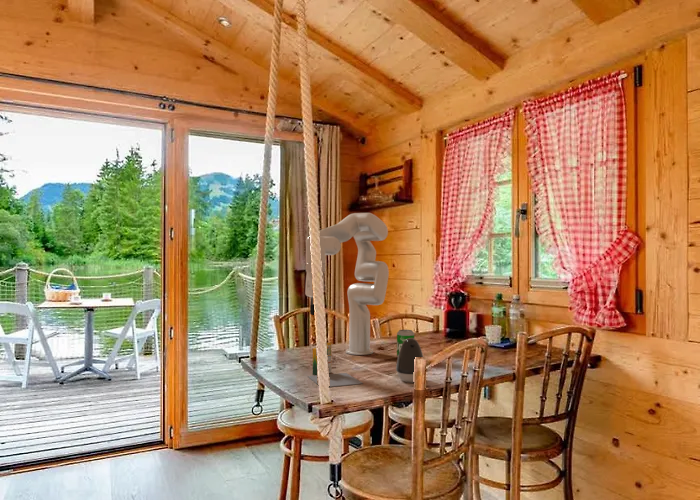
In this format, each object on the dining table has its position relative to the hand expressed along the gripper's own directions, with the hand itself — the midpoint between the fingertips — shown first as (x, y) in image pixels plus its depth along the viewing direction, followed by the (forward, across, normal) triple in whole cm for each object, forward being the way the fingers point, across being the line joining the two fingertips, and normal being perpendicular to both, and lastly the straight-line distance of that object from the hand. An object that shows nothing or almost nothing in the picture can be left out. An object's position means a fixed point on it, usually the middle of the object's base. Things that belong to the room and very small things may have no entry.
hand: (315, 314), depth 194 cm
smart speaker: (+21, +30, +26) cm, 45 cm away
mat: (+21, +20, +1) cm, 29 cm away
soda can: (+21, -5, +43) cm, 48 cm away
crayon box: (+21, +9, 0) cm, 23 cm away
